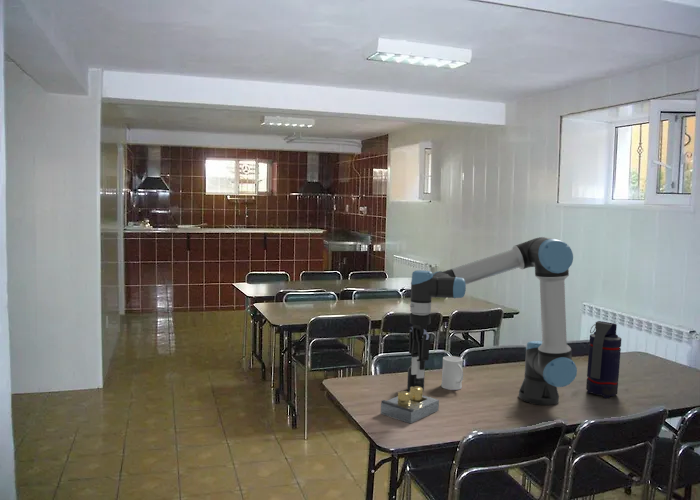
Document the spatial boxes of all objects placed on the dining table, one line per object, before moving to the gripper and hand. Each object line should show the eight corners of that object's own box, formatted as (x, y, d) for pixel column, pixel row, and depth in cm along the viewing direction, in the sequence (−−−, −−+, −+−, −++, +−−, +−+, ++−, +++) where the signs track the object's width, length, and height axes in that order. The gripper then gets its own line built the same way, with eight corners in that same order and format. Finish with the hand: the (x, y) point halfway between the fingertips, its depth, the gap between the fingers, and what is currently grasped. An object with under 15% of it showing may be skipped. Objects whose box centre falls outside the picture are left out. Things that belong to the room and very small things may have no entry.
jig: (438, 410, 215) (439, 389, 214) (410, 423, 201) (411, 401, 201) (409, 401, 223) (410, 381, 223) (380, 413, 210) (381, 392, 209)
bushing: (424, 409, 216) (425, 388, 215) (417, 412, 212) (418, 391, 212) (413, 406, 219) (414, 385, 218) (406, 409, 215) (407, 388, 215)
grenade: (593, 387, 249) (598, 318, 246) (621, 394, 241) (627, 322, 238) (578, 394, 239) (583, 322, 237) (608, 402, 231) (613, 327, 228)
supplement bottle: (426, 389, 239) (427, 360, 238) (420, 394, 233) (422, 364, 232) (410, 386, 242) (411, 358, 241) (404, 391, 236) (405, 362, 235)
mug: (469, 391, 238) (471, 363, 237) (450, 393, 235) (452, 364, 234) (455, 383, 249) (456, 355, 248) (437, 384, 246) (438, 356, 245)
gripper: (401, 309, 219) (398, 370, 221) (421, 318, 203) (418, 383, 205) (419, 308, 222) (416, 368, 224) (440, 317, 206) (437, 382, 208)
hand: (417, 375), depth 214 cm, fingers open, 4 cm apart
